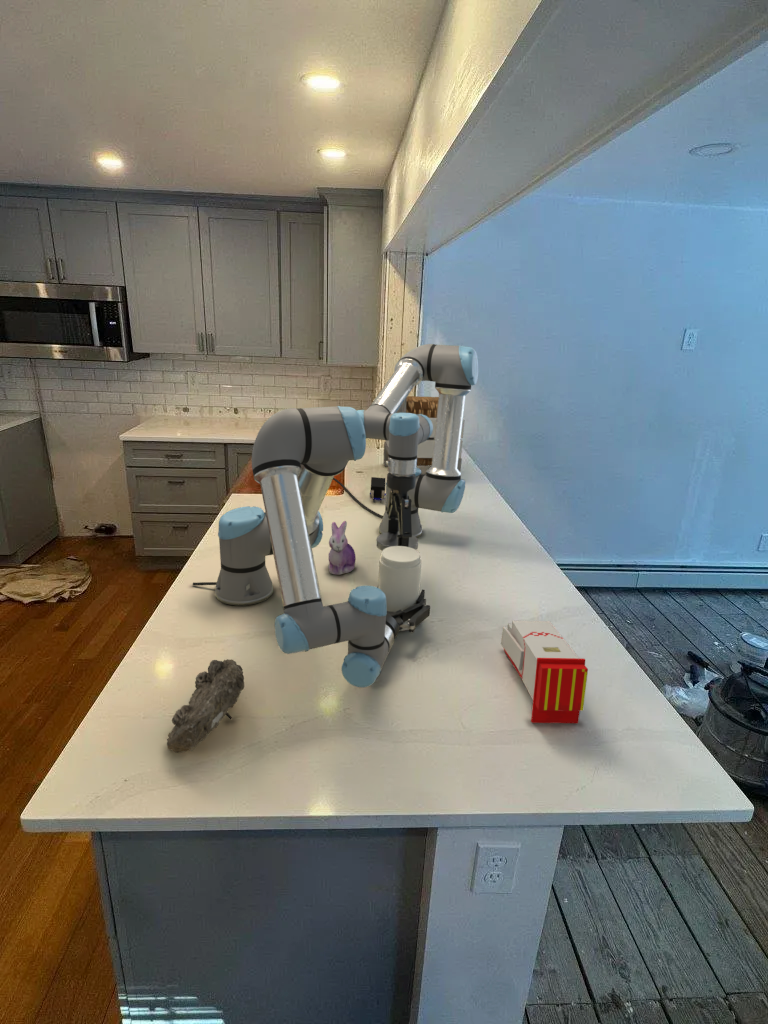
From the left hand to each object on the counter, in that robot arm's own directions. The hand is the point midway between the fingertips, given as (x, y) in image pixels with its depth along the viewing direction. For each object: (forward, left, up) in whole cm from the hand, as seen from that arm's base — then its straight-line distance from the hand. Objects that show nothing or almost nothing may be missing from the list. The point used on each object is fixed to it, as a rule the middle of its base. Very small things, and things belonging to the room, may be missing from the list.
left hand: (402, 590), depth 146 cm
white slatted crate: (-23, +133, -6) cm, 135 cm away
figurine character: (-31, +87, -6) cm, 93 cm away
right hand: (-4, +11, +6) cm, 14 cm away
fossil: (-25, -51, -6) cm, 57 cm away
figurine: (-23, +19, -6) cm, 31 cm away
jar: (0, -4, -6) cm, 8 cm away
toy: (+35, -19, -6) cm, 40 cm away
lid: (-4, +11, +9) cm, 15 cm away
